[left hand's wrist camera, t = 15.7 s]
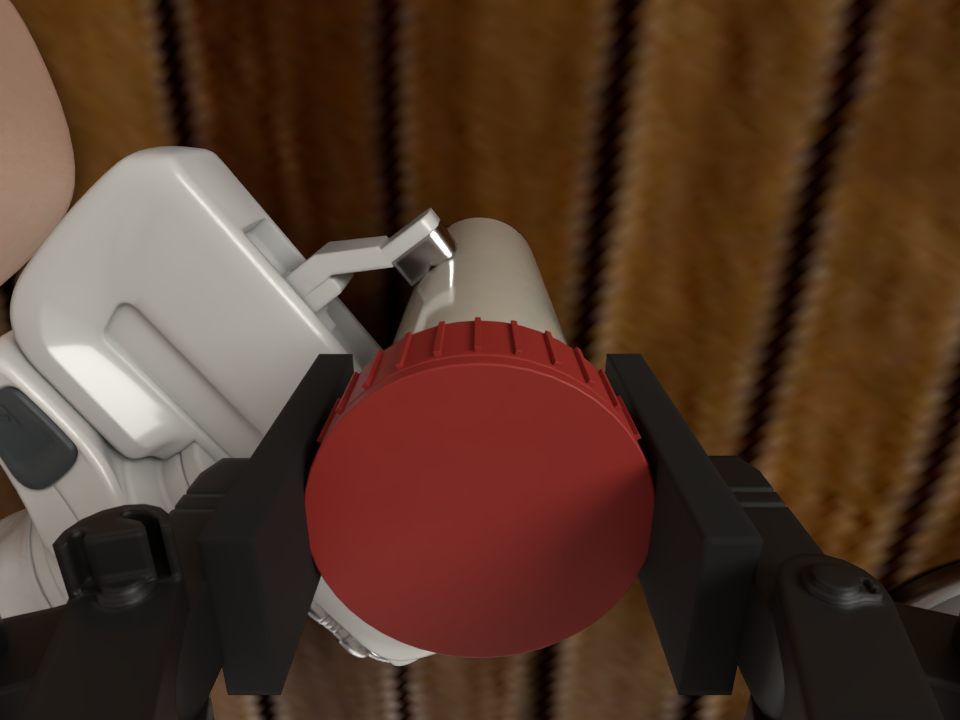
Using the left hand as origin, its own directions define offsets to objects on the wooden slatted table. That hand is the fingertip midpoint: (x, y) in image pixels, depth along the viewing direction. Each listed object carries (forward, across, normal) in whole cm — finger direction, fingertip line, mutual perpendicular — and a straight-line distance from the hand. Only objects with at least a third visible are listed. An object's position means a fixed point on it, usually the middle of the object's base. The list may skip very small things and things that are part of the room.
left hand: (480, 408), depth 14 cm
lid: (-4, 0, 0) cm, 4 cm away
